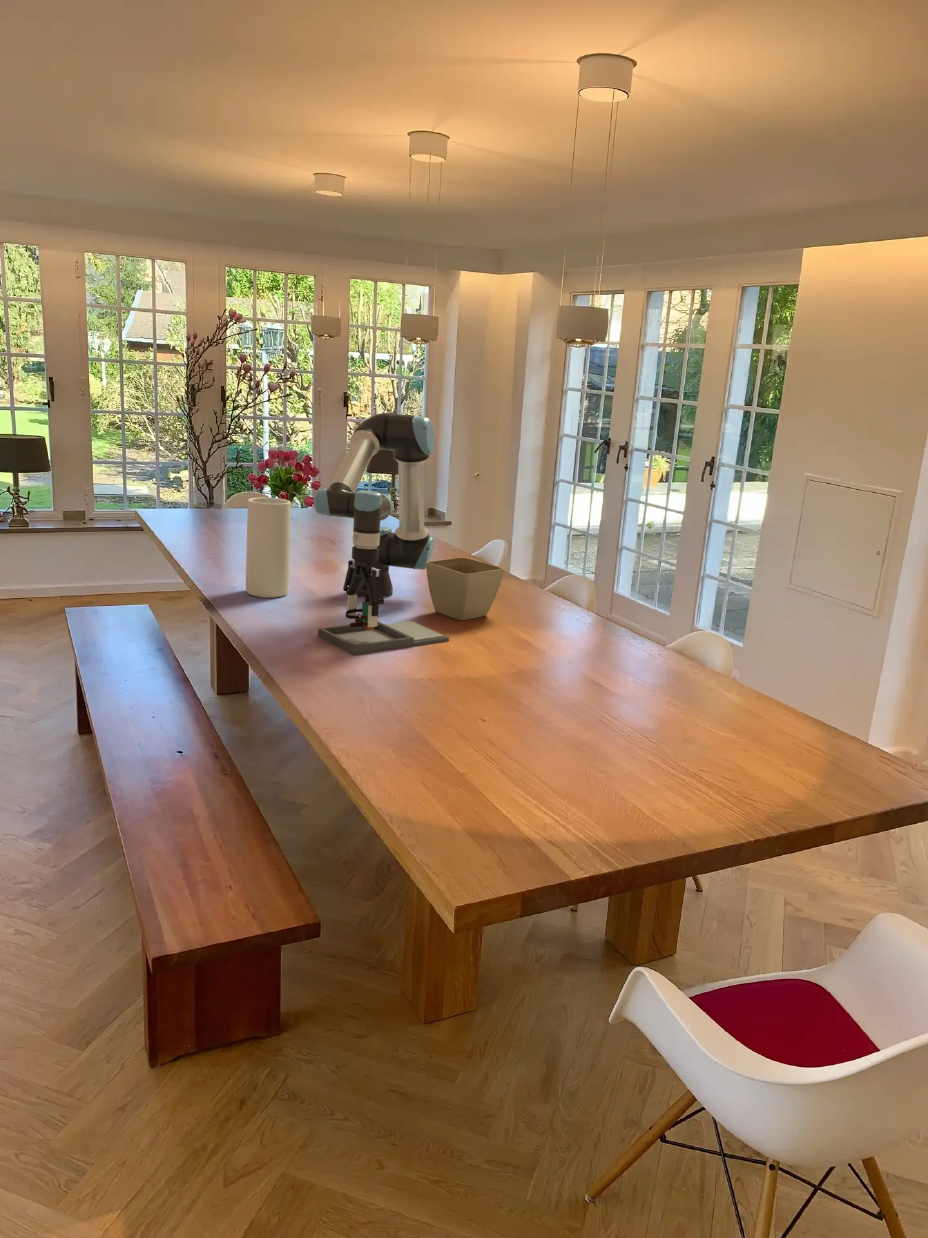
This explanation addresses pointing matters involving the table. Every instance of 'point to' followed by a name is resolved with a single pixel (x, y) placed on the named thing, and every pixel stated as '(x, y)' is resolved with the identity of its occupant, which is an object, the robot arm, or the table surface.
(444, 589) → the flower pot
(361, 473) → the robot arm
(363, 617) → the binoculars
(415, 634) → the case
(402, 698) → the table surface
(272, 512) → the vase
